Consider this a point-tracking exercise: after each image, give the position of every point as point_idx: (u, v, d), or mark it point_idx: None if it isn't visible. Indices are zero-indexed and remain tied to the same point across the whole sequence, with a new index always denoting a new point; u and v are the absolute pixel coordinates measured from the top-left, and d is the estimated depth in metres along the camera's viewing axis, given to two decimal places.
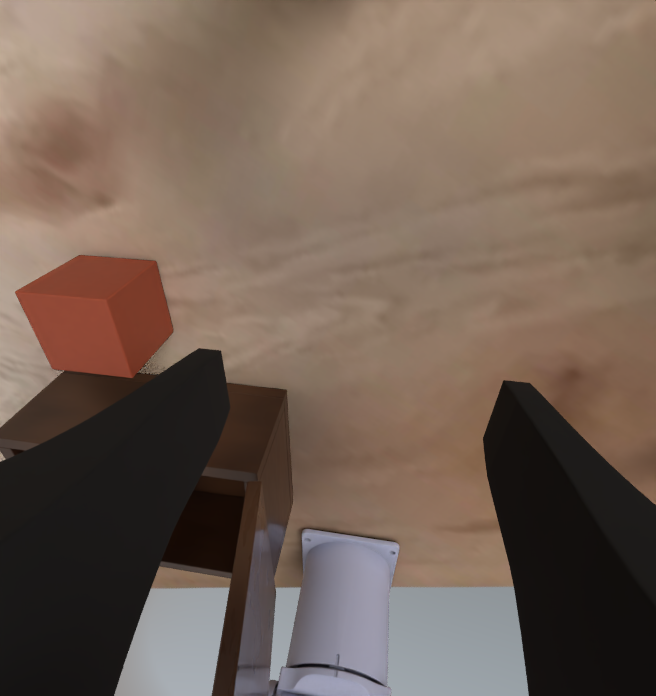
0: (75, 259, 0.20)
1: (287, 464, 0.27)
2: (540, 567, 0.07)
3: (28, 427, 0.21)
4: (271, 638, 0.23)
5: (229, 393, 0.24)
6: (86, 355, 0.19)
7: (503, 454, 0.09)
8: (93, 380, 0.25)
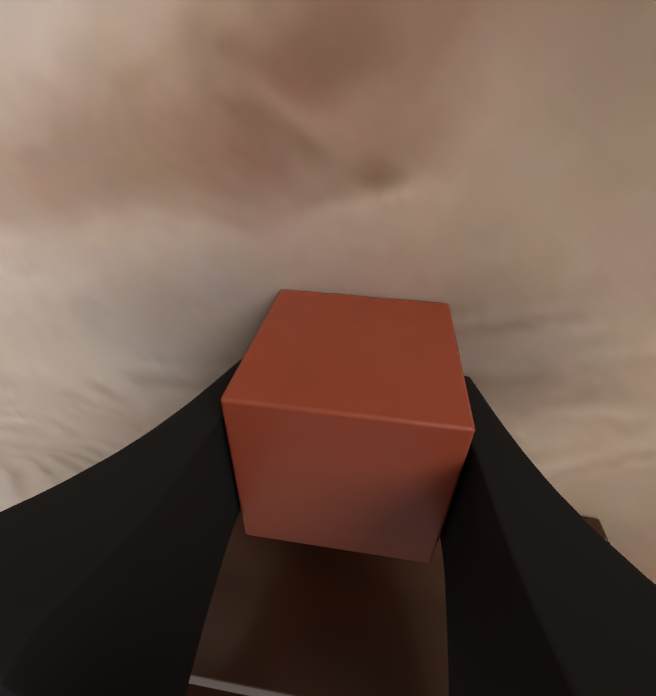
0: (284, 300, 0.10)
1: None
2: (460, 555, 0.07)
3: None
4: None
5: None
6: (343, 522, 0.08)
7: None
8: None
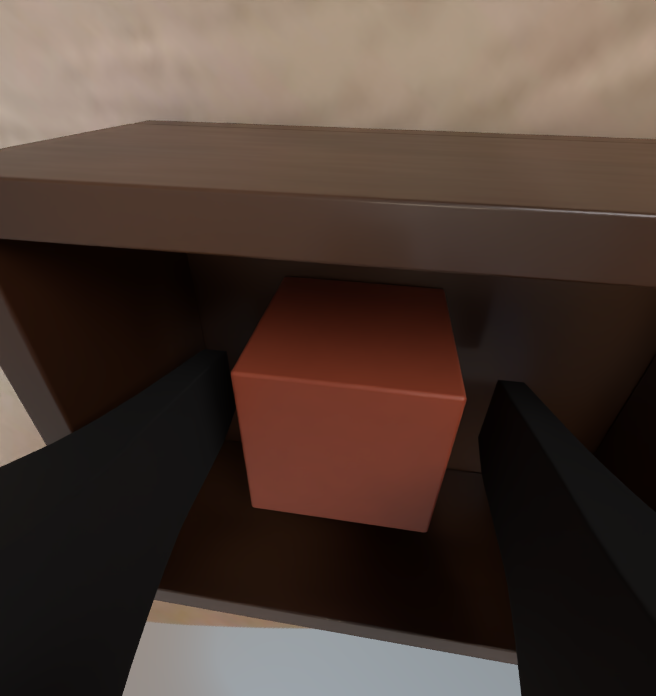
0: (288, 286, 0.10)
1: None
2: (532, 566, 0.07)
3: (48, 162, 0.05)
4: None
5: (645, 144, 0.08)
6: (344, 493, 0.09)
7: (497, 453, 0.09)
8: (224, 129, 0.09)
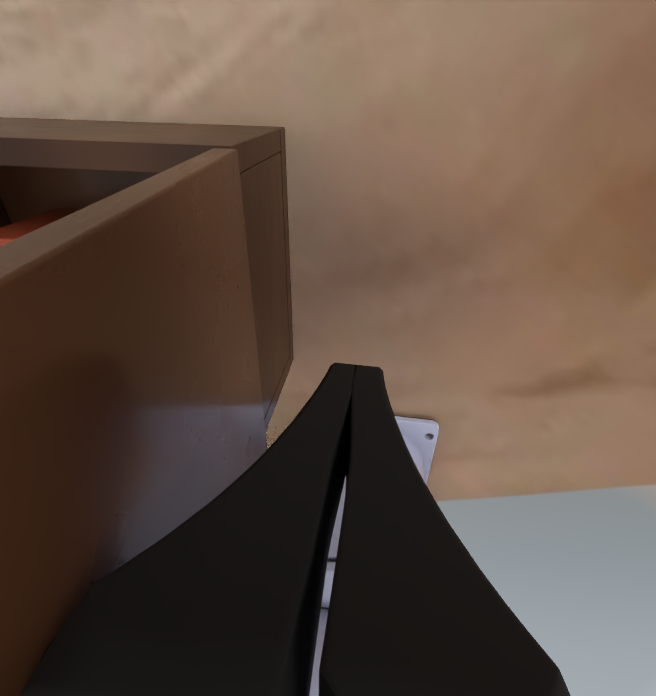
0: (50, 211, 0.18)
1: (285, 272, 0.18)
2: None
3: None
4: None
5: (196, 126, 0.16)
6: None
7: (348, 435, 0.09)
8: None
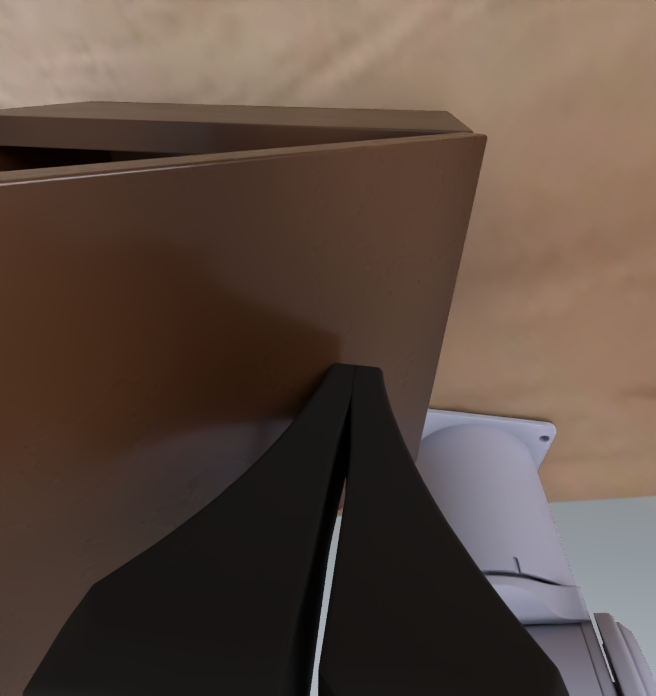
0: None
1: None
2: None
3: (23, 112, 0.12)
4: None
5: (357, 110, 0.14)
6: None
7: None
8: (129, 104, 0.15)
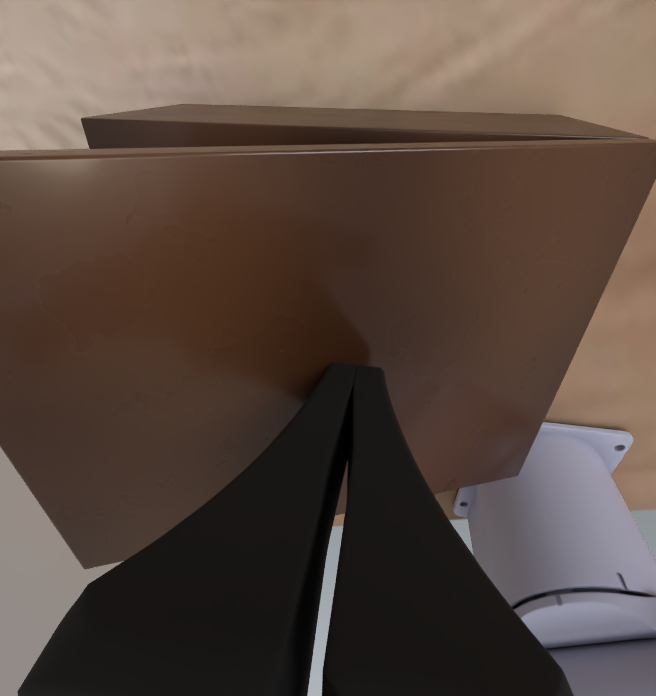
0: None
1: None
2: None
3: (148, 116, 0.11)
4: (457, 479, 0.14)
5: (470, 114, 0.14)
6: None
7: (349, 435, 0.09)
8: (230, 107, 0.15)
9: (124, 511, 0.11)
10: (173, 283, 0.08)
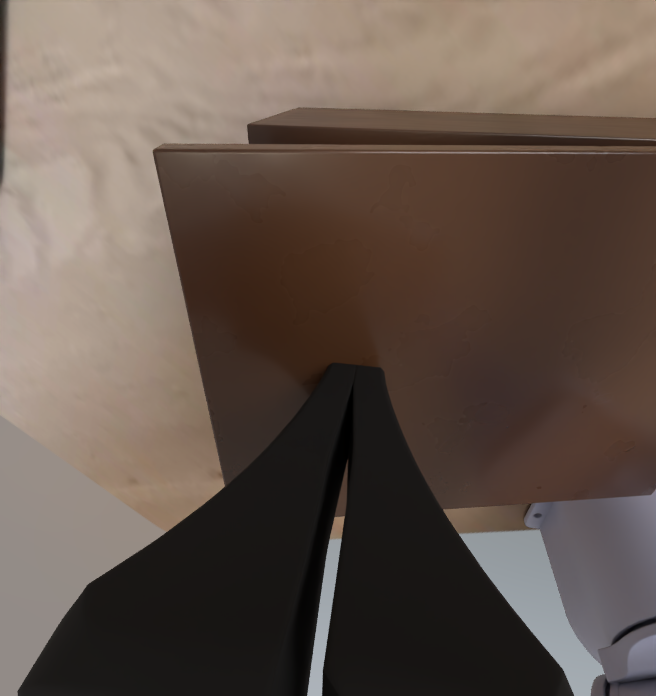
0: None
1: None
2: None
3: (310, 122, 0.11)
4: (588, 489, 0.14)
5: (616, 119, 0.13)
6: None
7: (349, 435, 0.09)
8: (357, 111, 0.14)
9: None
10: (390, 268, 0.09)
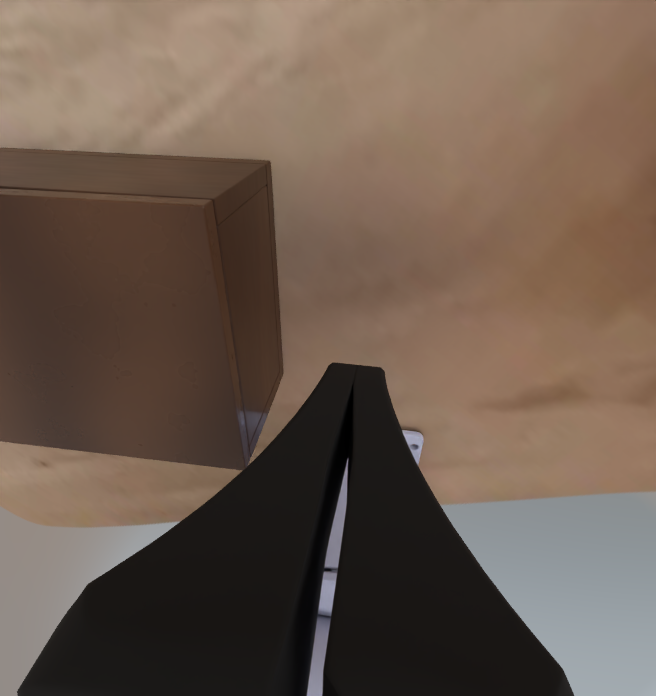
0: None
1: (273, 295, 0.19)
2: None
3: None
4: (184, 454, 0.18)
5: (186, 160, 0.16)
6: None
7: (349, 435, 0.09)
8: None
9: None
10: None
